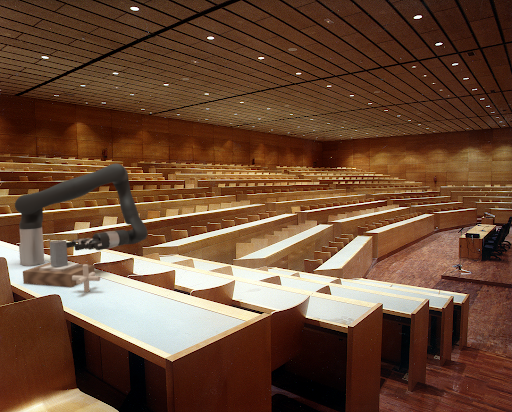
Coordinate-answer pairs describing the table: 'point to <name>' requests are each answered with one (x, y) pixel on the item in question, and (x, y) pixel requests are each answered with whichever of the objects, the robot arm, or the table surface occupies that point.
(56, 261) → the block
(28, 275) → the brown wooden block
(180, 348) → the table surface
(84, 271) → the pipe connector
